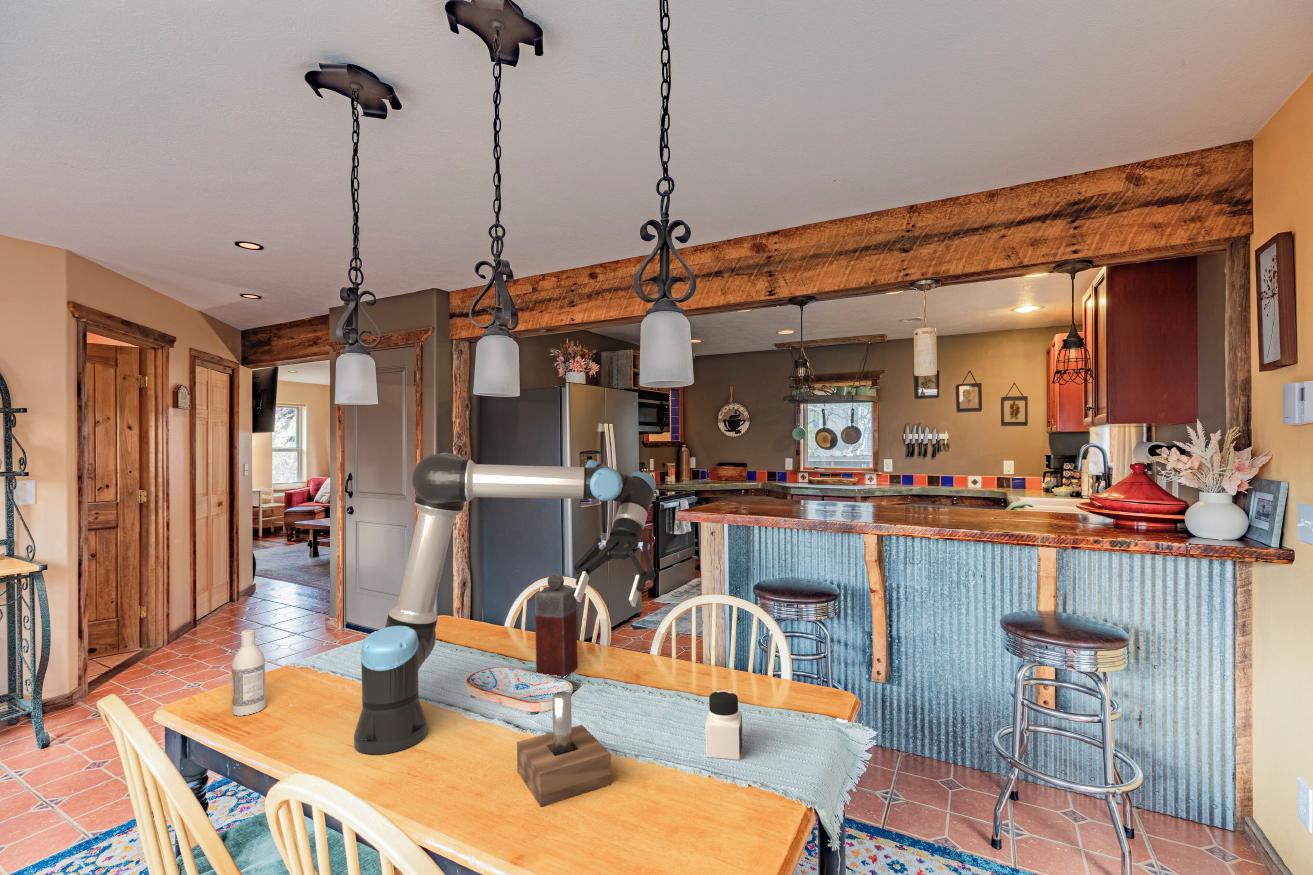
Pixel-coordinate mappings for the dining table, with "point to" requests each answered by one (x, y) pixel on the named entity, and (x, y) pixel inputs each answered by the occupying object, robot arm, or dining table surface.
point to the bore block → (563, 766)
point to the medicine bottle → (723, 726)
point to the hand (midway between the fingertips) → (604, 601)
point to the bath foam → (248, 677)
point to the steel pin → (562, 723)
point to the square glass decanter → (556, 628)
